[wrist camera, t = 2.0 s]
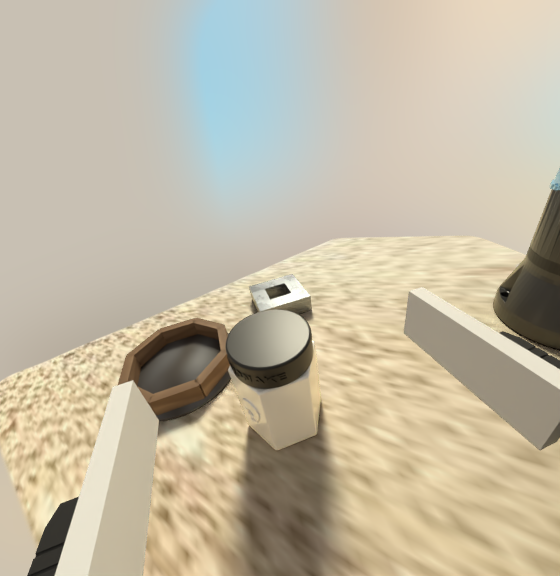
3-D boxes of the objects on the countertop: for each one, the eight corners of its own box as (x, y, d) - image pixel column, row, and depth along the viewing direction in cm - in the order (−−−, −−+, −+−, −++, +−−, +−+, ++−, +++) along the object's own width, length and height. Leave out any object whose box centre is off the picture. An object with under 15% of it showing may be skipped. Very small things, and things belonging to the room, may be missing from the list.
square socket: (294, 286, 54) (292, 273, 52) (311, 309, 46) (310, 295, 45) (252, 299, 52) (248, 286, 51) (263, 325, 45) (259, 311, 43)
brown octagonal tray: (230, 318, 48) (226, 305, 46) (249, 391, 34) (244, 376, 32) (133, 348, 45) (125, 335, 43) (109, 442, 31) (96, 429, 29)
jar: (235, 415, 31) (204, 341, 25) (281, 371, 36) (265, 299, 29) (291, 469, 25) (270, 390, 19) (337, 407, 30) (332, 327, 24)
